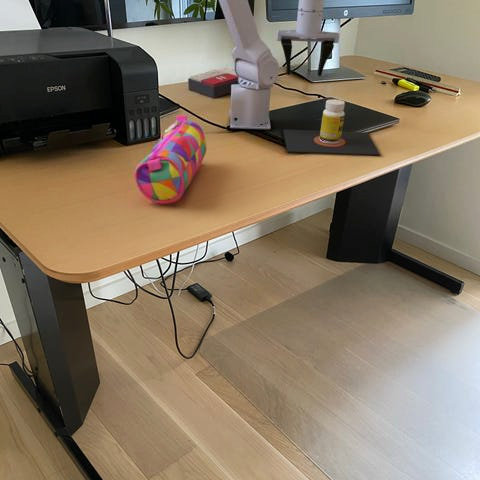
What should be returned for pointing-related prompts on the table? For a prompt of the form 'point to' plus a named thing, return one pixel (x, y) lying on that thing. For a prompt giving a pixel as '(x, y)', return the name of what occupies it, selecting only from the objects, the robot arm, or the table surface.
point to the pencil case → (172, 162)
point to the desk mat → (312, 145)
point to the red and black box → (213, 82)
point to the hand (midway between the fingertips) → (303, 74)
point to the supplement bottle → (332, 121)
